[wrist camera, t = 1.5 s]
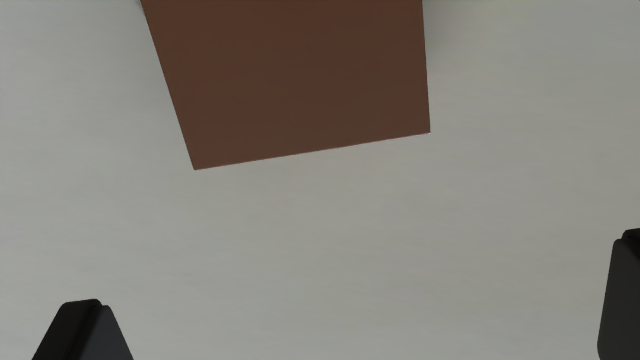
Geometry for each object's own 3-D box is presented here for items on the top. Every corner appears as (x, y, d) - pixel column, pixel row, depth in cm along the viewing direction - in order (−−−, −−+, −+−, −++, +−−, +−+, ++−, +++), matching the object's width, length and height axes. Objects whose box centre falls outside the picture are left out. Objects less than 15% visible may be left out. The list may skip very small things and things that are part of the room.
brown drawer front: (81, -206, 21) (11, -228, 16) (401, -268, 20) (435, -312, 15) (196, 163, 29) (174, 227, 24) (427, 127, 28) (455, 184, 23)
